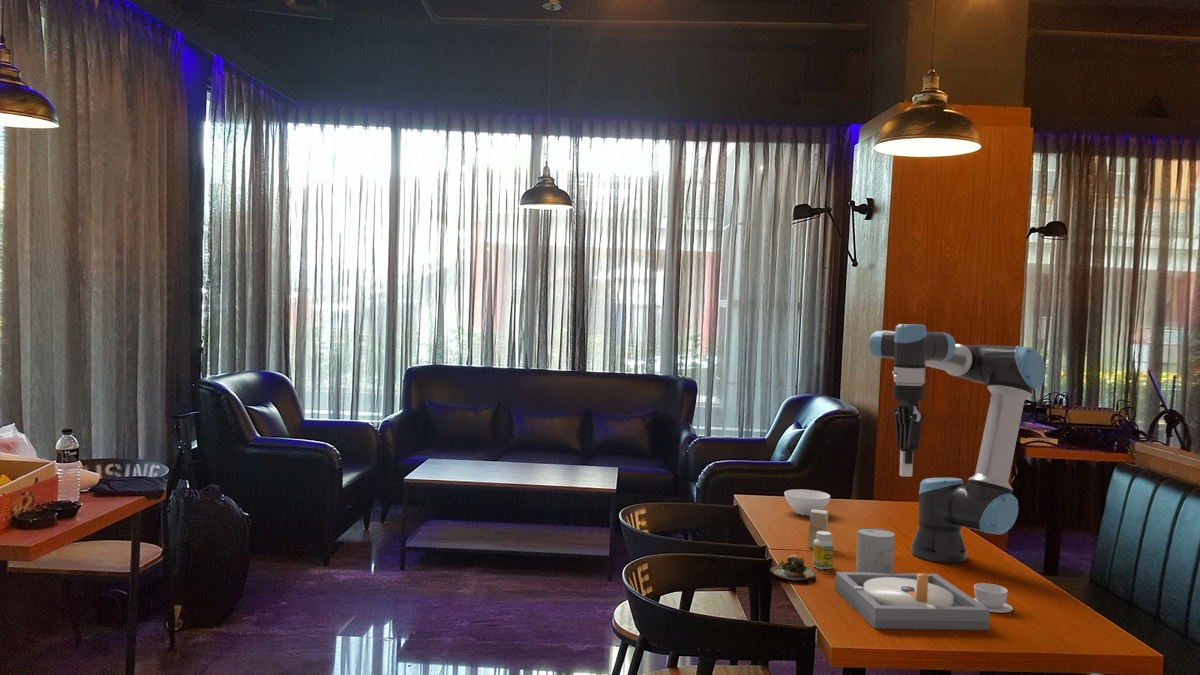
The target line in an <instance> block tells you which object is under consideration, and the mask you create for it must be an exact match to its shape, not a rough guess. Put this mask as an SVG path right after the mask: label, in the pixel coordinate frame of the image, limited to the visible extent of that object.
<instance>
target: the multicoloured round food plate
mask: <svg viewBox="0 0 1200 675" xmlns="http://www.w3.org/2000/svg"><path fill="white" fill-rule="evenodd" d="M799 551H800V550H798V552H797V553H800V552H799ZM786 561H787V562H784V561H783V560H781V561H779V563H778V565H774V566H771V567H770V568H769V572H770V573H771V574H774V575H775V576H777V577H778V578H781V579H784V580H792V581H806V580H807V581H806V583H807V584H811V583H814V580H815V579H816V572H815V571H814V570H813V569H811V568H809V567H807V566H805V560H804V558H803V557H802V556H801V555H799V554H792V555H791V554H790V555H789V556H788V557H787V560H786ZM816 580H817V579H816ZM810 582H811V583H810Z"/></svg>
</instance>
